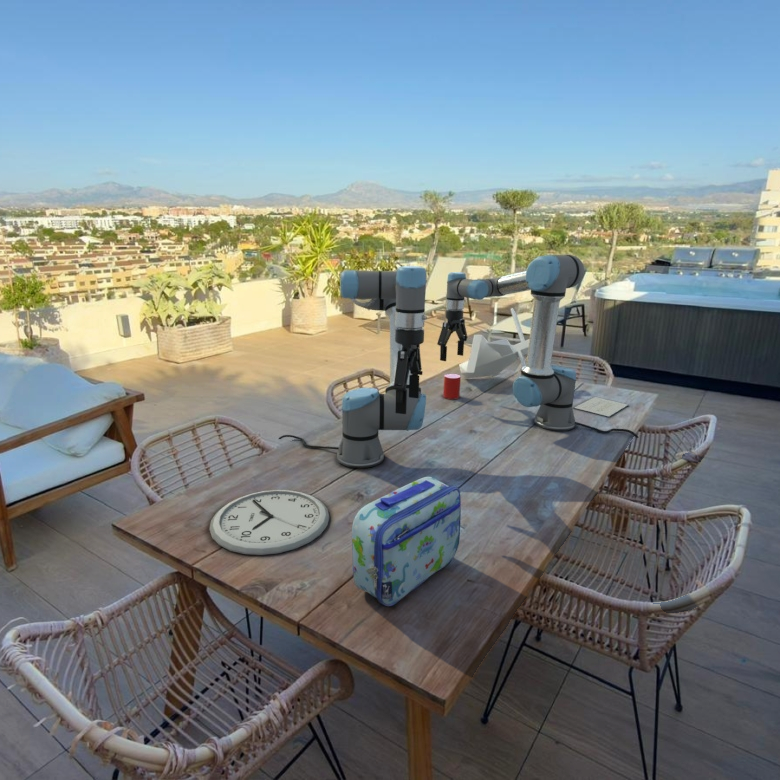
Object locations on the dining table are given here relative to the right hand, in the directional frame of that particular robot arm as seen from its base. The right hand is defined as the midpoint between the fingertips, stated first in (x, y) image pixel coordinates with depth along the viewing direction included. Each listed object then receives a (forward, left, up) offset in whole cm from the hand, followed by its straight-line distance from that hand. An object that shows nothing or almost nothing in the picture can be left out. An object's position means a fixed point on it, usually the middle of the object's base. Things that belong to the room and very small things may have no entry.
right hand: (451, 358), depth 229 cm
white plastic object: (-23, -24, -19) cm, 38 cm away
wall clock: (+45, +110, -19) cm, 120 cm away
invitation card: (-65, +1, -19) cm, 68 cm away
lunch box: (+8, +128, -19) cm, 130 cm away
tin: (-1, -2, -19) cm, 19 cm away
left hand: (+12, +91, +8) cm, 92 cm away
